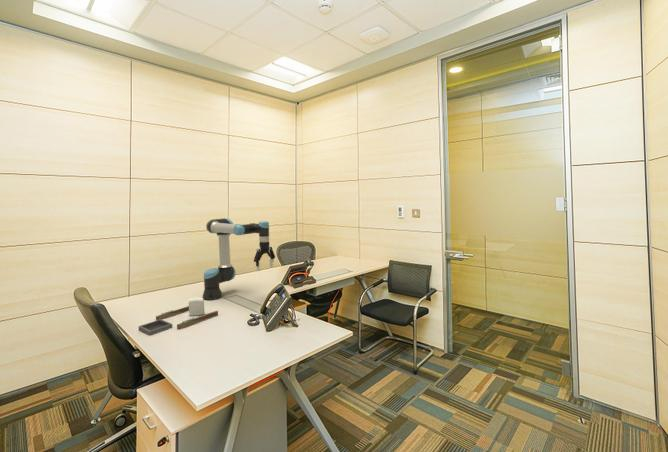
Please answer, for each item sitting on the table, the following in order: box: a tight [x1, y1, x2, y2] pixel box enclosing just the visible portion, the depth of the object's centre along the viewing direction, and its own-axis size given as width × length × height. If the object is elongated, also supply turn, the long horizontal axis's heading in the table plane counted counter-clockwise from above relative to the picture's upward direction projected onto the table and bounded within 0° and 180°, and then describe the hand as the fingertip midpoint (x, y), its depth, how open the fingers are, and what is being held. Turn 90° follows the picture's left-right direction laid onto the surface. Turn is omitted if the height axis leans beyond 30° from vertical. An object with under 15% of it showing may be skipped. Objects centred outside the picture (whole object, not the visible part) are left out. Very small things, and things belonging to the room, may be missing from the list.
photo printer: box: [188, 297, 206, 317], centre depth 229 cm, size 10×4×12 cm, turn 100°
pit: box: [137, 319, 173, 336], centre depth 206 cm, size 14×14×2 cm
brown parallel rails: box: [155, 305, 219, 330], centre depth 224 cm, size 28×30×4 cm
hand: (265, 268), depth 249 cm, fingers open, 13 cm apart
